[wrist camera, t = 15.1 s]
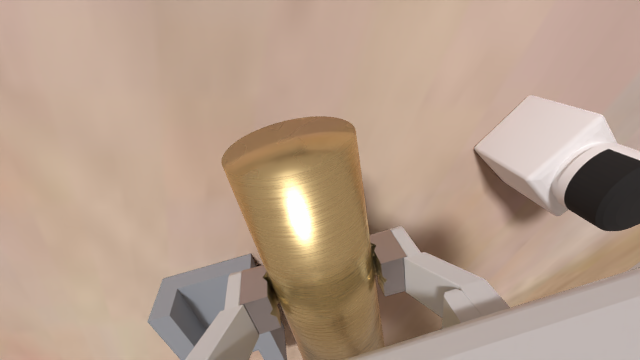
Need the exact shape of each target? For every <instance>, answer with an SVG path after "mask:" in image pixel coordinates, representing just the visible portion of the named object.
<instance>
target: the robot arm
mask: <svg viewBox="0 0 640 360" xmlns="http://www.w3.org/2000/svg"><path fill="white" fill-rule="evenodd" d="M370 242H371V250H372V257H373V265H374V272H375V275H377V277H378V283H379V285H380V288H381V290H382V292H383V294H384V296H389V295H392V294H396V293H400V292H403V291H406V292H407V293H408V294H409V295H411V296H412V297H414V298H415V299H416V300H418V301H419V302H421V303H422V304H423V305H425V306H426V307H428V308H429V309H430V310H432V311H433V312H435V313H436V314H437V315H439V316H440V317H442V329H440V330H437V331H434V332H431V333H427V334H424V335H421V336H418V337H415V338H411V339H408V340H405V341H402V342H399V343H395V344H392V345H389V346H386V347H383V348H379V349H376V350H373V351H370V352H367V353H363V354H360V355H357V356H354V357H351V358H347V359H344V360H640V268H636V269H633V270H630V271H627V272H623V273H620V274H617V275H614V276H611V277H607V278H604V279H601V280H598V281H595V282H591V283H588V284H585V285H582V286H579V287H575V288H572V289H569V290H566V291H562V292H559V293H556V294H553V295H550V296H546V297H543V298H540V299H537V300H534V301H530V302H527V303H524V304H521V305H517V306H514V307H511V308H510V307H509V306H508V305H507V303H506V302H505V301H504V300H503V299H502V298H501V297H500V296H499V294H498V293H497V292H496V291H495V290H494V289H493V288H492V286H491V285H490V284H489V283H488V282H487V281H486V280H485V279H483V278H481V277H479V276H477V275H475V274H472V273H470V272H468V271H466V270H464V269H461V268H459V267H457V266H455V265H453V264H450V263H448V262H446V261H444V260H442V259H439V258H437V257H435V256H433V255H431V254H428V253H426V252H422V253H421V252H420V250H419V249H418V248H417V246H416V245H415V243H414V242H413V241H412V239H411V238H410V236H409V235H408V234H407V232H406V231H405V229H404V228H403V227H402V226H398V227H395V228H391V229H389V230H385V231H381V232H378V233H375V234H371V235H370ZM278 303H279V300H278V298H277V295H276V293H275V291H274V288H273V286H272V283H271V281H270V279H269V276H268V274H267V271H266V269H265V267H264V265H261V266H257V267H254V268H250V269H246V270H243V271H239V272H235V273H231V274H230V275H229V277H228V283H227V291H226V299H225V308H224V310H222V311H220V312H219V314H218V315H217V316H216V318H215V319H214V321H213V322H212V323H211V325H210V326H209V327H208V329H207V330H206V332H205V333H204V334H203V336H202V337H201V338H200V340H199V341H198V343H197V344H196V345H195V347H194V348H193V349H192V351H191V352H190V353H189V355H188V356H187V358H186V359H185V360H249V358H250V355H251V353H252V351H253V349H254V347H255V345H256V342H257V340H258V338H259V335H260V334H263V333H266V332H269V331H272V330H275V329H278V328H281V320H280V311H279V308H278V306H277V305H278Z"/></svg>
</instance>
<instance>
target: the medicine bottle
mask: <svg viewBox="0 0 640 360" xmlns="http://www.w3.org/2000/svg"><path fill="white" fill-rule="evenodd" d="M474 150H475V151H476V152H477V153H478V154H479V156H480V157H481V158H482V159H483V160H484V161H485V162H486V163H487V164H488V165H489V166H490V168H491V169H492V170H493V171H494V172H495V173H496V174H497V175H498V176H499V177H500V178H501V180H502V181H503V182H505V183H506V184H508V185H509V186H511V187H512V188H514V189H515V190H517V191H518V192H520V193H521V194H523V195H524V196H526V197H527V198H529V199H530V200H532V201H533V202H535V203H536V204H538V205H540V206H541V207H543V208H544V209H546V210H547V211H549V212H550V213H552V214H553V215H555V216H560V215H562V214H563V213H564V212H566V211H567V210H568V209H569V210H570V211H572V212H574V213H575V214H577V215H579V216H580V217H582V218H583V219H585V220H587V221H588V222H590V223H592V224H593V225H595V226H597V227H598V228H600V229H602V230H605V231H621V230H625V229H628V228H631V227H633V226H635V225H638V224H640V151H638V150H635V149H632V148H629V147H626V146H623V145H620V144H617V142H616V140H615V138H614V136H613V134H612V131H611V129H610V127H609V125H608V123H607V121H606V119H605V117H604V116H603V115H601V114H598V113H595V112H591V111H587V110H584V109H580V108H577V107H573V106H569V105H566V104H562V103H559V102H555V101H551V100H548V99H544V98H540V97H537V96H533V95H529V96H527V97H526V98H525V99H524V100H523V101H522V102H521V103H520V104H519V105H518V106H517V107H516V108H515V109H514V110H513V111H512V112H511V113H510V114H509V115H508V116H506V117H505V118H504V119H503V120H502V121H501V122H500V123H499V124H498V125H497V126H496V127H495V128H494V129H493V130H492V131H491V132H490V133H489V134H488V135H487V136H486V137H484V138H483V139H482V140H481V141H480V142H479V143H478V144H477V145H476V146H475V148H474Z"/></svg>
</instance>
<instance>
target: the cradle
mask: <svg viewBox="0 0 640 360" xmlns="http://www.w3.org/2000/svg"><path fill="white" fill-rule="evenodd" d="M254 267H256V264H255V262H254V260H253V258H252V256H251V254H248V255H245V256H241V257H238V258H234V259H231V260H227V261H224V262H220V263H217V264H213V265H210V266H206V267H203V268H199V269H196V270H192V271H189V272H185V273H182V274H178V275H175V276H171V277H168V278H164V279H163V280H162V283H161V286H160V289H159V291H158V294H157V297H156V300H155V302H154V305H153V308H152V311H151V313H150V316H149V319H148V323H149V324H150V325H151V326H152V328H153V329H154V330H155V331H156V332H157V333H158V334H159V336H160V337H161V338H162V339H163V340H164V341H165V342H166V344H167V345H168V346H169V347H170V348H171V349H172V350H173V352H174V353H175V354H176V355H177V356H178V357H179V358H180V360H185V359H186V358H187V356H188V355H189V353H190V352H191V351H192V349H193V348H194V347H195V345H196V344H197V343H198V341H199V340H200V338H201V337H202V336H203V334H204V333H205V332H206V330H207V329H208V327H209V326H210V325H211V323H212V322H213V321H214V319H215V318H216V316H217V315H218V314H219V312H220V311H222V310H224V308H225V299H226V291H227V283H228V277H229V275H230V274H231V273H235V272H239V271H243V270H246V269H250V268H254ZM280 320H281V319H280ZM257 350H259V351H260V353H261V355H262V357H263V358H264V360H287V355H286V344H285V332H284V326H283V324H282V322H281V328H278V329H275V330H272V331H269V332H266V333H263V334H260V335H259V338H258V340H257V342H256V345H255V347H254V349H253V351H252V352H254V351H257Z"/></svg>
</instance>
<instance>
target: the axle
mask: <svg viewBox="0 0 640 360" xmlns="http://www.w3.org/2000/svg"><path fill="white" fill-rule="evenodd" d="M222 166H223V168H224V171H225V173H226V175H227V178H228V180H229V183H230V185H231V187H232V190H233V192H234V195H235V197H236V199H237V202H238V204H239V207H240V209H241V211H242V214H243V216H244V219H245V221H246V223H247V226H248V228H249V231H250V233H251V235H252V238H253V240H254V243H255V245H256V247H257V250H258V252H259V255H260V257H261V259H262V262H263V264H264V267H265V269H266V271H267V274H268V276H269V279H270V281H271V283H272V286H273V288H274V291H275V293H276V295H277V298H278V300H279V303H280V305H281V307H282V310H283V312H284V315H285V317H286V319H287V322H288V324H289V327H290V329H291V331H292V334H293V336H294V339H295V341H296V343H297V346H298V348H299V351H300V353H301V355H302V358H303V360H344V359H347V358H351V357H354V356H357V355H360V354H363V353H367V352H370V351H373V350H376V349H379V348H383V347H384V340H383V332H382V325H381V317H380V310H379V302H378V295H377V287H376V280H375V272H374V265H373V257H372V250H371V242H370V235H369V227H368V220H367V212H366V205H365V197H364V190H363V182H362V175H361V167H360V160H359V152H358V145H357V137H356V131H355V128H354V126H353V125H352V124H351V123H349V122H348V121H346V120H343V119H339V118H334V117H305V118H298V119H292V120H287V121H283V122H279V123H276V124H273V125H269V126H267V127H264V128H261V129H259V130H256V131H254V132H252V133H250V134H248V135H246V136H244V137H243V138H241V139H239V140H238V141H236V142H235V143H234V144H233V145H231V146H230V147H229V148H228V149H227V150H226V152H225V153H224V155H223V157H222Z"/></svg>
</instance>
